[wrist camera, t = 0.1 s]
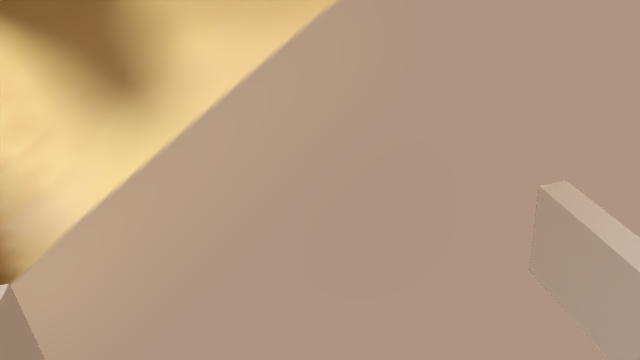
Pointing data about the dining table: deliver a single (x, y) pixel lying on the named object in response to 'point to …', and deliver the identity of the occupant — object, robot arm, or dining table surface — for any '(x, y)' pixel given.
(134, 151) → the dining table surface
